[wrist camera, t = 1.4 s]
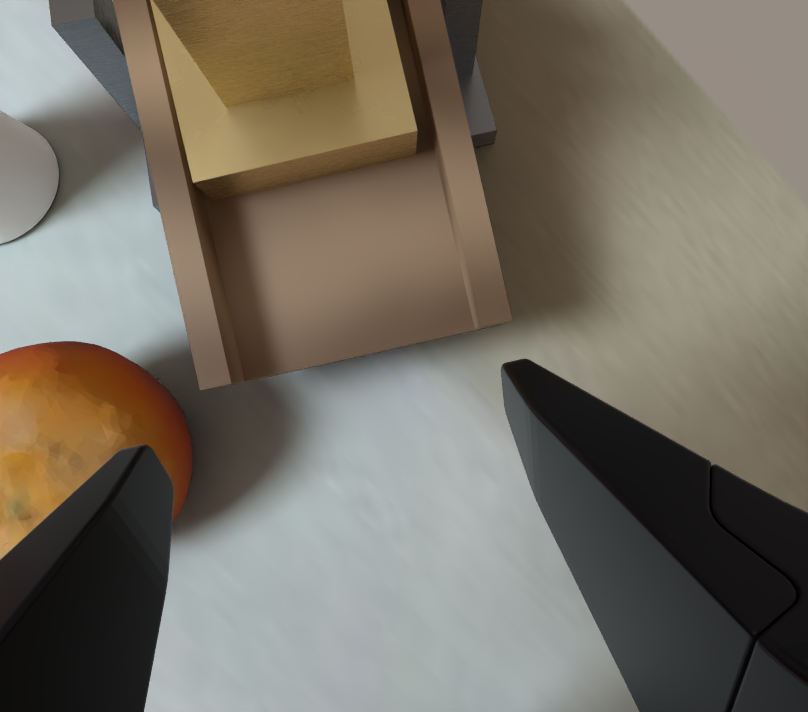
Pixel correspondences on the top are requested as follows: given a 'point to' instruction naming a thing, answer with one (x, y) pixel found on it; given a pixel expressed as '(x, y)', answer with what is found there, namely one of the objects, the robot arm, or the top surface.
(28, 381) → the fruit
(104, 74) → the beam stand
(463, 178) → the beam
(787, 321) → the top surface
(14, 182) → the cosmetic bottle
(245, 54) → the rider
